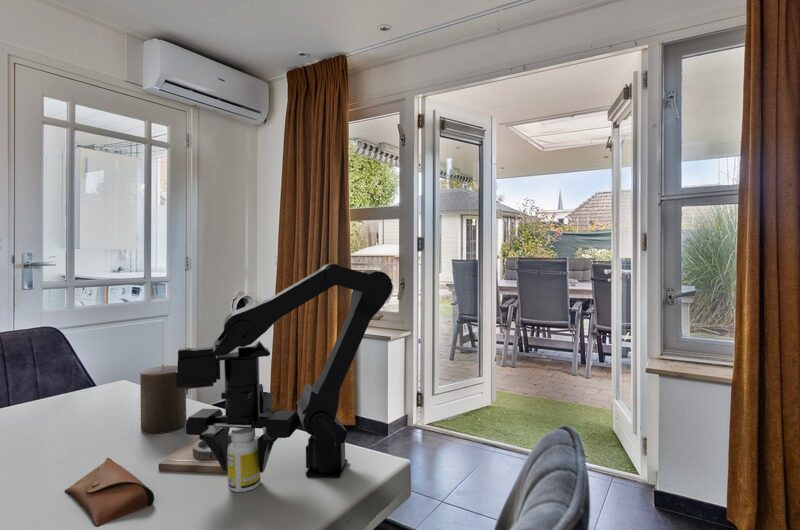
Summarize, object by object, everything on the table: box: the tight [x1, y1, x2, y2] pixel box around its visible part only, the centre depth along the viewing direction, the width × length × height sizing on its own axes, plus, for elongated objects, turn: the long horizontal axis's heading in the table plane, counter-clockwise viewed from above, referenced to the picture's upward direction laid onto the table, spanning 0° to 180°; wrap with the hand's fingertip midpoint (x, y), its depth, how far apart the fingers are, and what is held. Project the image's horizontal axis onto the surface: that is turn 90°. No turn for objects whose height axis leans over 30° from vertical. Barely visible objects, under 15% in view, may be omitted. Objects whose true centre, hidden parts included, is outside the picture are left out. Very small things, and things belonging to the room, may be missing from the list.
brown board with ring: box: [158, 432, 260, 474], centre depth 92 cm, size 16×14×3 cm
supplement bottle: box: [227, 428, 261, 493], centre depth 80 cm, size 5×5×10 cm
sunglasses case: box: [64, 457, 155, 527], centre depth 77 cm, size 18×7×7 cm, turn 51°
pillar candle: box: [139, 364, 187, 435], centre depth 108 cm, size 10×10×15 cm
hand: (244, 470), depth 80 cm, fingers open, 6 cm apart
